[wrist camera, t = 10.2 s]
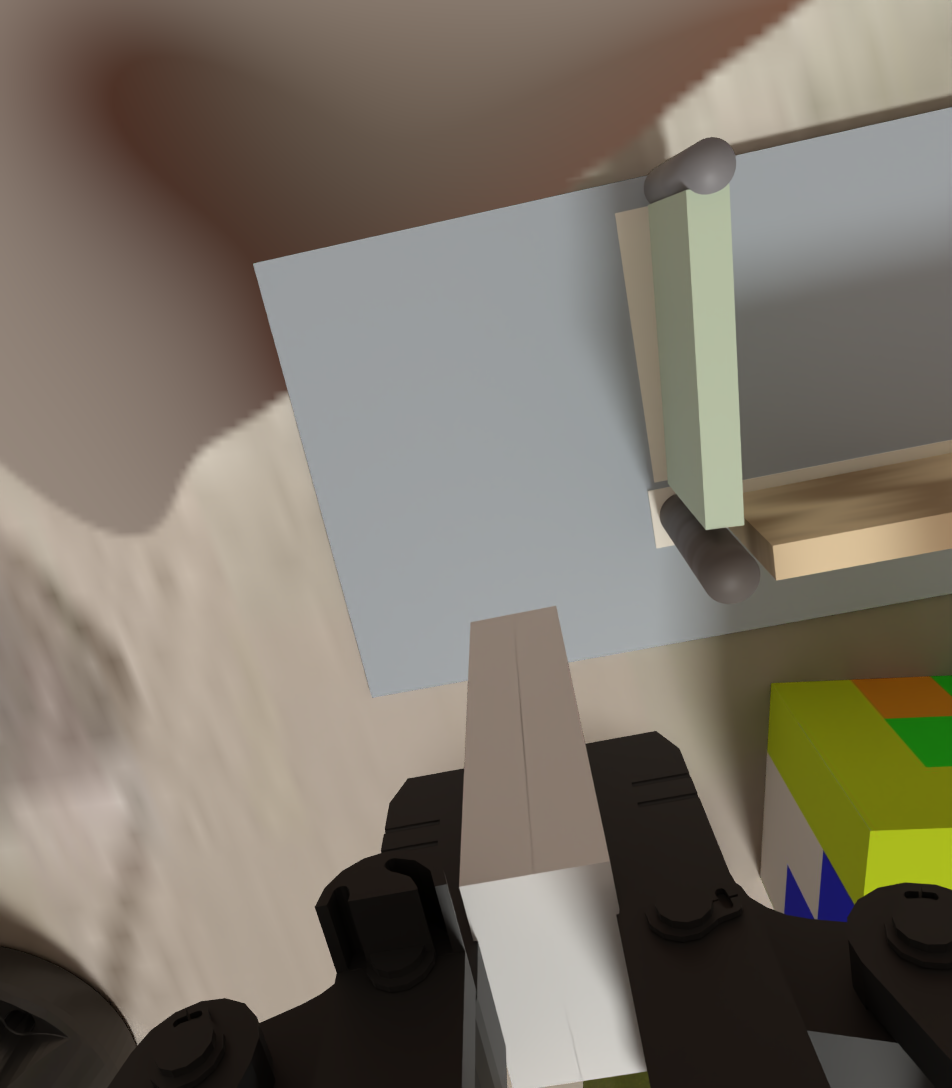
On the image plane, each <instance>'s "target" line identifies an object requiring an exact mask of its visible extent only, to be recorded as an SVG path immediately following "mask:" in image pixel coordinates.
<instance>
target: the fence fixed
mask: <svg viewBox="0 0 952 1088" xmlns="http://www.w3.org/2000/svg"><path fill="white" fill-rule="evenodd" d="M743 507H744V525H742V526H734V527H728V528H729V529H730V530H731V531H732V533H733V534H734V535H735V536H736V537H737V538H738V539H739V540H740V541H741V542H742V544H743V545H744V546H745V547H746V548H747V549H748V550H749V551H750V552H751V553H752V554H753V556H754V557H755V558H756V559H757V560H758V561H759V562H760V563H761V564H762V565H763V567H764V568H765V569H766V570H767V571H768V572H769V573H770V574H771V575H772V576H773V578H774V579H775V580H776V581H777V580H783V579H788V578H794V577H799V576H804V575H810V574H815V573H821V572H826V571H832V570H837V569H843V568H848V567H853V566H859V565H864V564H870V563H875V562H881V561H886V560H892V559H897V558H902V557H908V556H913V555H919V554H924V553H930V552H935V551H941V550H946V549H951V548H952V453H948V454H943V455H938V456H933V457H927V458H922V459H917V460H912V461H907V462H901V463H896V464H891V465H886V466H881V467H875V468H870V469H865V470H860V471H855V472H849V473H844V474H839V475H834V476H829V477H823V478H818V479H813V480H808V481H803V482H797V483H792V484H787V485H782V486H777V487H771V488H766V489H761V490H756V491H751V492H745V493H743ZM660 522H661V524H662V526H663V528H664V529H665V531H666V532H667V534H668V535H669V537H670V538H671V540H672V541H673V543H674V544H675V546H676V547H677V549H678V550H679V552H680V553H681V555H682V556H683V558H684V559H685V561H686V562H687V564H688V565H689V567H690V568H691V570H692V572H693V573H694V575H695V576H696V578H697V579H698V581H699V582H700V584H701V585H702V587H703V588H704V590H705V591H706V593H707V594H708V595H709V596H710V597H711V598H712V599H713V600H715V601H717V602H719V603H723V604H735V603H739V602H742V601H744V600H746V599H747V598H749V597H750V596H751V595H752V594H753V593H754V592H755V590H756V589H757V587H758V585H759V582H760V568H759V565H758V563H757V562H756V560H755V559H754V558H753V557H752V556H751V555H750V554H749V552H748V551H747V550H746V549H745V548H744V547H743V546H742V545H741V544H740V543H739V541H738V540H737V539H736V538H735V537H734V536H733V535H732V534H731V533H730V531H729V530H728V529H727V528H718V529H710V530H705V528H704V527H703V526H702V525H701V524H700V522H699V521H698V520H697V519H696V517H695V516H694V515H693V514H692V513H691V511H690V510H689V509H688V508H687V506H686V505H685V504H684V503H683V502H682V500H681V499H680V498H679V497H678V495H677V494H674V495H672V496H671V497H669V498H668V499H667V500H666V501H665V502H664V504H663V505H662V507H661V510H660Z"/></svg>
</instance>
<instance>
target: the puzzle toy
mask: <svg viewBox="0 0 952 1088" xmlns="http://www.w3.org/2000/svg"><path fill="white" fill-rule="evenodd" d="M760 878H761V880H762V883H763V885H764V887H765V890H766V892H767V894H768V896H769V899H770V901H771V903H772V905H773V908H774V910H775V911H778V912H781V913H783V914H786V915H791V916H797V917H802V918H808V919H818V920H829V921H840V922H847V917H848V915H849V913H850V912H851V910H852V908H853V907H854V905H855V903H856V902H857V900H858V899H860V898H861V897H863V896H865V895H866V894H868V893H870V892H871V891H873V890H875V889H876V888H879V887H884V886H889V885H894V884H899V883H904V882H907V883H921V884H935V885H939V886H942V887H945V888H948V889H951V890H952V675H948V676H925V677H902V678H878V679H855V680H832V681H809V682H786V683H771V695H770V712H769V730H768V747H767V765H766V783H765V800H764V818H763V835H762V853H761V870H760Z"/></svg>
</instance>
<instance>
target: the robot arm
mask: <svg viewBox="0 0 952 1088" xmlns="http://www.w3.org/2000/svg"><path fill="white" fill-rule="evenodd" d="M385 833H386V834H384V837H383V842H382V848H381V854H377V855H374V856H371V857H367V858H364V859H362V860H360V861H359V862H357V863H355V864H354V865H352V866H350V867H348V868H347V869H345V870H343V871H342V872H341V873H340V874H339V875H338V876H336V877H335V878H334V879H333V880H332V881H331V882H330V883H329V884H328V885H327V886H326V887H325V888H324V890H323V892H322V894H321V896H320V898H319V900H318V902H317V904H316V906H315V909H316V912H317V915H318V918H319V921H320V924H321V927H322V930H323V933H324V936H325V939H326V942H327V945H328V948H329V951H330V954H331V957H332V960H333V963H334V966H335V969H336V972H337V975H336V980H335V984H334V985H332V986H331V987H330V988H328V989H327V990H326V991H325V992H323V993H322V994H320V995H319V996H317V997H315V998H313V999H311V1000H309V1001H308V1002H306V1003H304V1004H302V1005H300V1006H297V1007H295V1008H293V1009H291V1010H288V1011H286V1012H284V1013H282V1014H279V1015H277V1016H275V1017H272V1018H270V1019H268V1020H266V1021H263V1022H261V1023H259V1022H258V1019H257V1017H256V1016H255V1014H254V1013H253V1012H252V1011H251V1010H250V1009H249V1008H248V1007H247V1006H246V1004H245V1003H241V1002H237V1001H233V1000H230V999H226V998H224V999H216V1000H209V1001H201V1002H199V1003H197V1004H194V1005H192V1006H190V1007H187V1008H185V1009H182V1010H180V1011H178V1012H175V1013H174V1014H173V1015H171V1016H170V1017H169V1018H167V1019H166V1020H164V1021H163V1022H162V1023H160V1024H159V1025H158V1026H156V1027H155V1028H153V1029H152V1030H151V1031H150V1032H149V1033H148V1034H147V1035H146V1037H145V1038H144V1039H143V1040H142V1041H141V1042H140V1043H139V1044H138V1046H137V1047H136V1045H135V1042H134V1040H133V1038H132V1036H131V1034H130V1032H129V1030H128V1028H127V1027H126V1025H125V1023H124V1022H123V1020H122V1019H121V1018H120V1016H119V1015H118V1014H117V1012H116V1011H115V1010H114V1009H113V1008H112V1007H111V1005H110V1004H109V1003H108V1002H107V1001H106V1000H105V999H104V998H103V997H102V996H101V995H99V994H98V993H97V992H96V991H95V990H94V989H92V988H91V987H90V986H89V985H87V984H86V983H85V982H83V981H82V980H80V979H79V978H77V977H76V976H74V975H73V974H71V973H69V972H68V971H66V970H64V969H62V968H60V967H58V966H56V965H54V964H52V963H50V962H48V961H45V960H43V959H41V958H38V957H35V956H33V955H30V954H27V953H23V952H20V951H17V950H13V949H8V948H4V947H0V1088H507V1068H508V1072H509V1076H510V1079H511V1083H512V1087H513V1088H540V1087H546V1086H553V1085H560V1084H566V1083H573V1082H580V1081H586V1080H593V1079H599V1078H606V1077H613V1076H619V1075H626V1074H632V1073H639V1072H646V1071H647V1072H648V1077H649V1082H650V1087H651V1088H952V890H951V889H948V888H945V887H942V886H939V885H935V884H921V883H907V882H904V883H899V884H894V885H889V886H884V887H879V888H876V889H875V890H873V891H871V892H870V893H868V894H866V895H865V896H863V897H861V898H860V899H858V900H857V902H856V903H855V905H854V907H853V908H852V910H851V912H850V913H849V915H848V917H847V922H840V921H829V920H818V919H808V918H802V917H797V916H791V915H786V914H783V913H781V912H778V911H775V910H772V909H769V908H767V907H765V906H763V905H762V904H760V903H758V902H757V901H755V900H753V899H752V898H750V897H749V896H748V895H747V894H746V892H745V891H744V890H743V888H742V887H741V886H740V885H738V884H736V883H735V881H734V879H733V878H732V876H731V874H730V873H729V870H728V868H727V865H726V863H725V860H724V858H723V855H722V853H721V850H720V848H719V845H718V843H717V840H716V838H715V836H714V833H713V831H712V828H711V826H710V823H709V821H708V818H707V816H706V813H705V811H704V808H703V806H702V803H701V801H700V798H699V797H698V795H697V791H696V789H695V786H694V784H693V781H692V779H691V777H690V775H689V771H688V769H687V766H686V764H685V761H684V759H683V756H682V754H681V752H680V749H679V748H678V747H676V746H675V745H674V744H672V743H671V742H670V741H669V740H667V739H666V738H665V737H663V736H662V735H661V734H659V733H658V732H657V731H654V732H648V733H643V734H637V735H632V736H626V737H621V738H615V739H610V740H604V741H599V742H593V743H588V744H585V740H584V736H583V731H582V726H581V721H580V717H579V712H578V707H577V702H576V698H575V693H574V688H573V683H572V679H571V674H570V669H569V664H568V660H567V655H566V650H565V645H564V641H563V636H562V631H561V626H560V622H559V617H558V612H557V607H556V606H552V607H546V608H541V609H536V610H531V611H526V612H521V613H516V614H510V615H505V616H500V617H495V618H490V619H485V620H480V621H474V622H470V645H469V668H468V692H467V715H466V738H465V762H464V769H459V770H453V771H448V772H442V773H437V774H431V775H426V776H420V777H415V778H409V779H407V780H406V782H405V783H404V785H403V786H402V787H401V789H400V790H399V791H398V793H397V794H396V795H395V797H394V798H393V799H392V801H391V802H390V804H389V809H388V815H387V820H386V826H385ZM506 1064H507V1068H506Z"/></svg>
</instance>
